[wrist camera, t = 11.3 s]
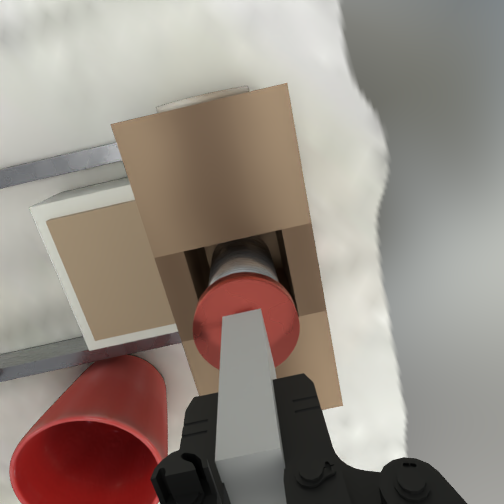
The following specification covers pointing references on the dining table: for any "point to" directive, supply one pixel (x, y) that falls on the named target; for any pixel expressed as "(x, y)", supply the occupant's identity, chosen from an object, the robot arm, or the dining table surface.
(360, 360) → the dining table surface
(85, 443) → the flower pot
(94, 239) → the block
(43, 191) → the dining table surface
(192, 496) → the robot arm
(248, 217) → the end cabinet
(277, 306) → the cylinder
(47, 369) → the rail channel
